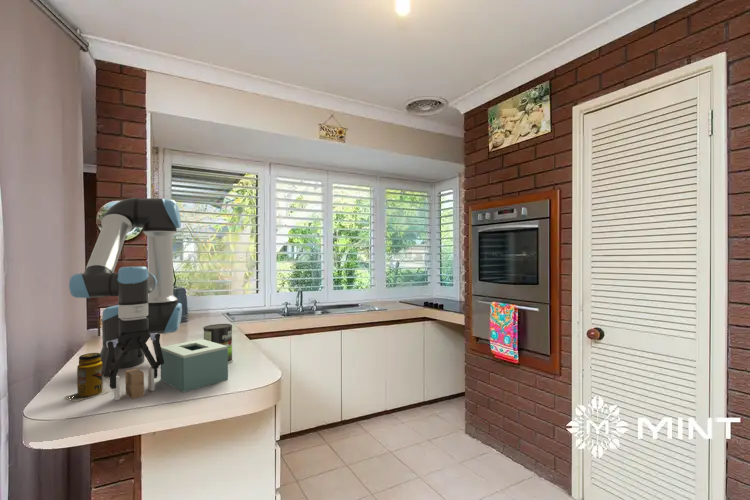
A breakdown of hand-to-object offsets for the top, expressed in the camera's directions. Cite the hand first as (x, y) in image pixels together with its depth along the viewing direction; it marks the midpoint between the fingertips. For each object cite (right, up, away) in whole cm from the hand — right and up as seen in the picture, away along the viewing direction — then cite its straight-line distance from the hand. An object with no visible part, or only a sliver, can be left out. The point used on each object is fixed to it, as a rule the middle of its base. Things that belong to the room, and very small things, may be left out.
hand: (134, 393), depth 109 cm
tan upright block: (0, 0, 0) cm, 0 cm away
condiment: (-15, -1, +1) cm, 15 cm away
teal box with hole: (+12, 0, +13) cm, 17 cm away
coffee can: (+11, -1, +32) cm, 34 cm away
